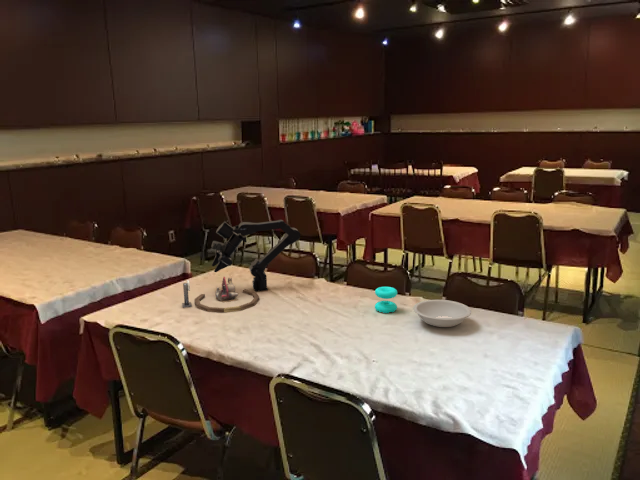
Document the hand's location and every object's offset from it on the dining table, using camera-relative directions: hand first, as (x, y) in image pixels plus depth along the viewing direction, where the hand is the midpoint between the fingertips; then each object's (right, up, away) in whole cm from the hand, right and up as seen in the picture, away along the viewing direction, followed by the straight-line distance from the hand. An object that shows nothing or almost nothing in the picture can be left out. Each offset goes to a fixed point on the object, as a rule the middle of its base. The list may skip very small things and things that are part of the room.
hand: (213, 268), depth 272 cm
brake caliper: (+7, -14, -5) cm, 17 cm away
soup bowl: (+105, -21, -40) cm, 114 cm away
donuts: (+83, -18, -24) cm, 88 cm away
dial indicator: (-10, -17, -15) cm, 24 cm away
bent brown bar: (+9, -15, -11) cm, 21 cm away
